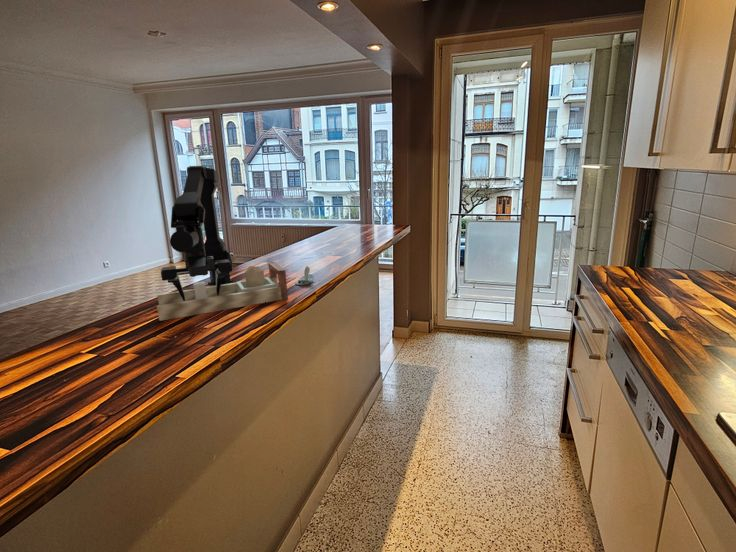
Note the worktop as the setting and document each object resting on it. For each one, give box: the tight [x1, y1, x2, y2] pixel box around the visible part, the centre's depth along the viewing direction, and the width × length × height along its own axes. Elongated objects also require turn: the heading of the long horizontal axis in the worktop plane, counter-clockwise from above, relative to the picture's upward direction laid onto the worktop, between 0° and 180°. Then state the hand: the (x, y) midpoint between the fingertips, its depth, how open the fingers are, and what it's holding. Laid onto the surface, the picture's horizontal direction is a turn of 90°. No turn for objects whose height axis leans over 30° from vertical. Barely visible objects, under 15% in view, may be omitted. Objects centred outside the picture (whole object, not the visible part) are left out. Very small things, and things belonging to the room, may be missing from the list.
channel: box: [156, 261, 289, 322], centre depth 122 cm, size 36×13×9 cm, turn 116°
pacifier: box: [295, 265, 315, 286], centre depth 141 cm, size 7×6×6 cm
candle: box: [244, 265, 265, 288], centre depth 126 cm, size 6×6×10 cm
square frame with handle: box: [192, 276, 276, 299], centre depth 124 cm, size 22×10×7 cm, turn 116°
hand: (201, 297), depth 120 cm, fingers open, 9 cm apart
